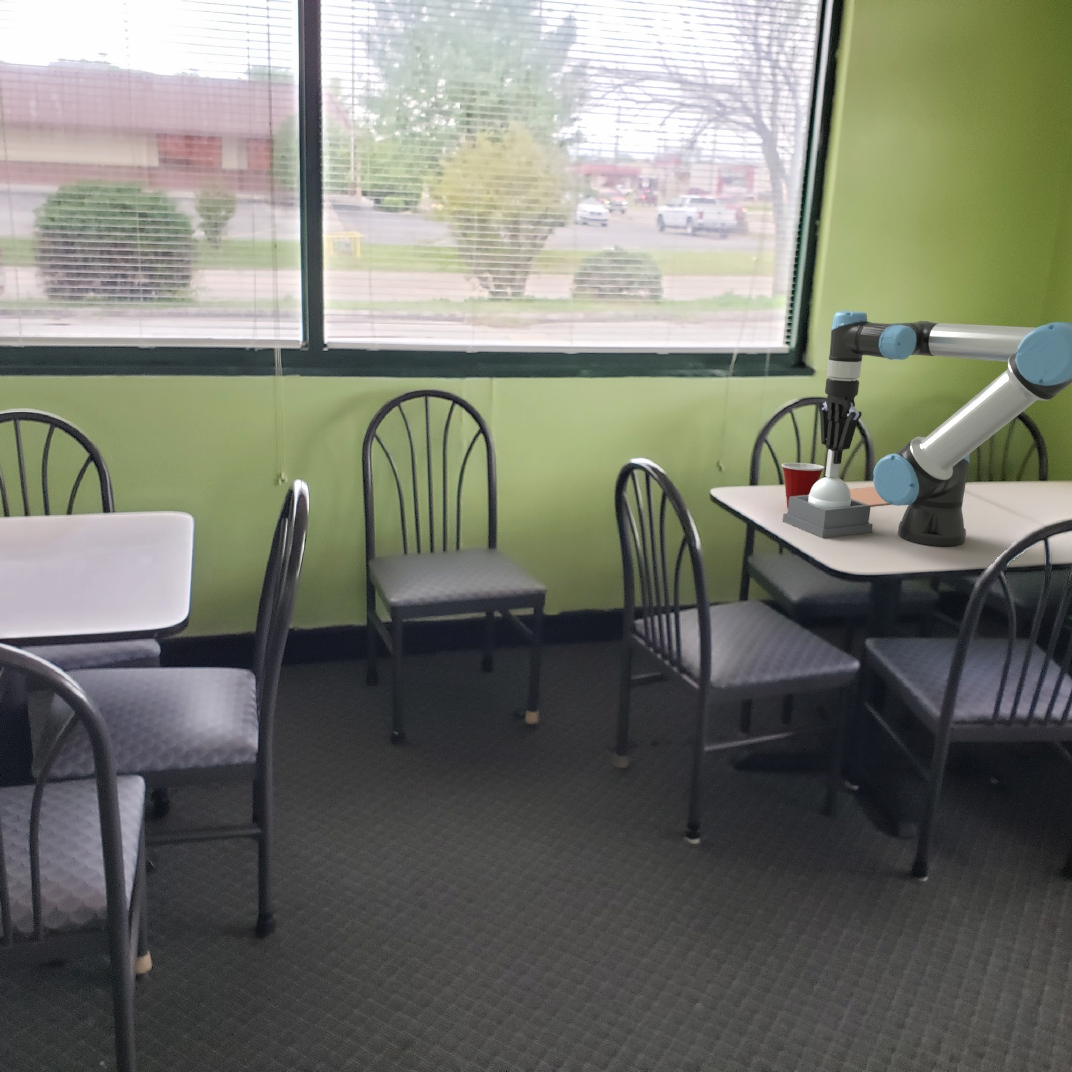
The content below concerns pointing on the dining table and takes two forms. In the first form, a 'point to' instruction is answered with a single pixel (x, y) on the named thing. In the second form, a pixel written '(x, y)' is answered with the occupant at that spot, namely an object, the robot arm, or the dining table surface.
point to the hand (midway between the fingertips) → (831, 476)
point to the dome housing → (828, 517)
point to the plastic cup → (800, 478)
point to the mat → (867, 496)
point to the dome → (830, 493)
